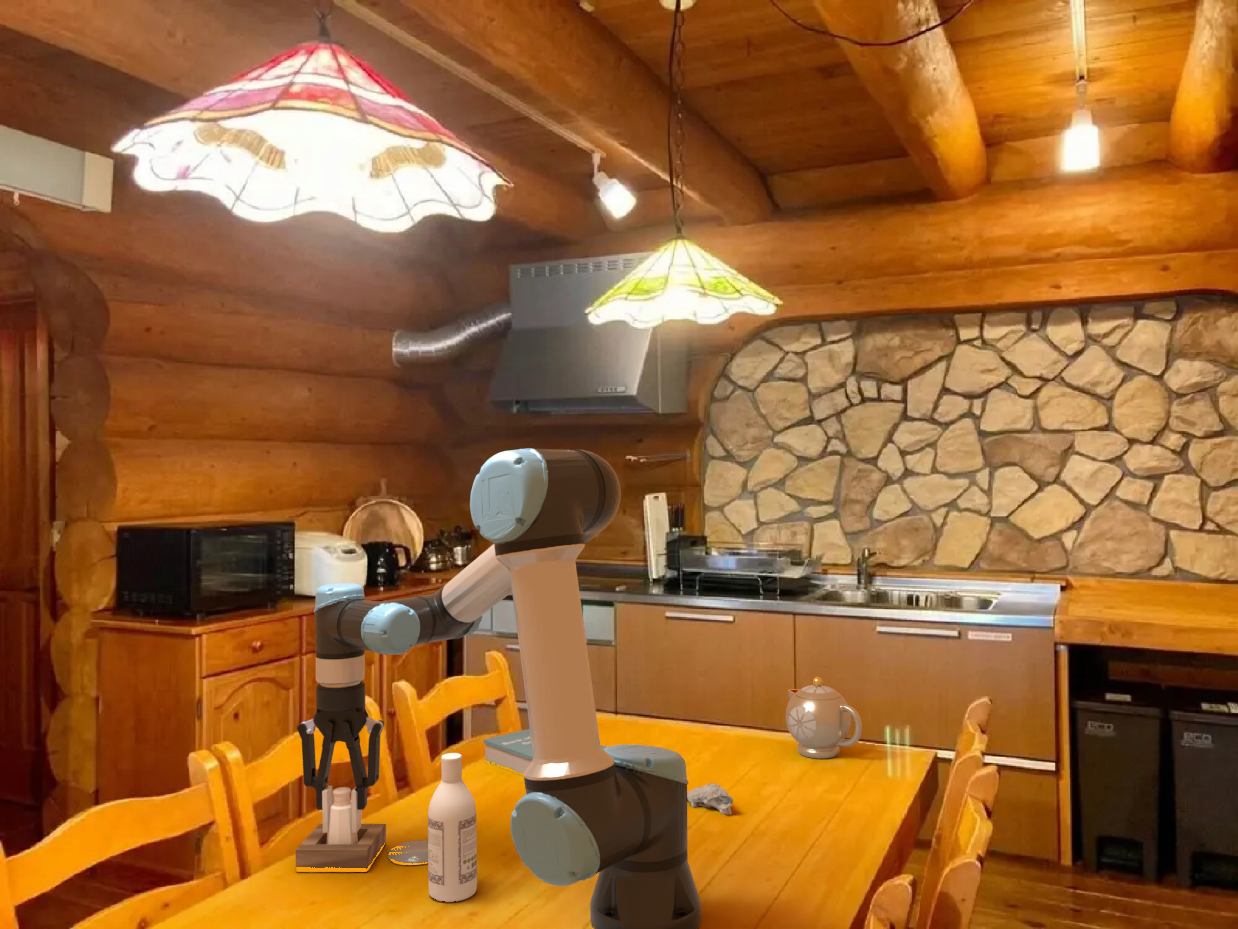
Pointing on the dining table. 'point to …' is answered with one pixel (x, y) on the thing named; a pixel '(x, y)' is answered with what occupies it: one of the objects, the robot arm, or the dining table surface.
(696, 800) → the stone
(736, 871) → the dining table surface
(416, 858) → the coaster
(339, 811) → the salt shaker
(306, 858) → the socket block
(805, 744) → the teapot
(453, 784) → the bath foam
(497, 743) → the book
